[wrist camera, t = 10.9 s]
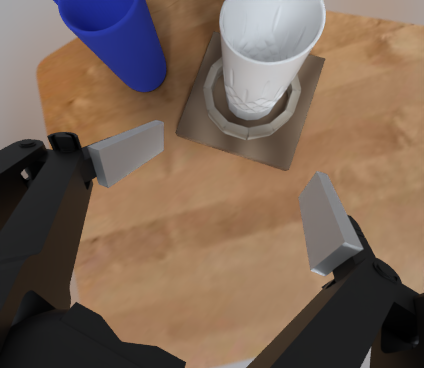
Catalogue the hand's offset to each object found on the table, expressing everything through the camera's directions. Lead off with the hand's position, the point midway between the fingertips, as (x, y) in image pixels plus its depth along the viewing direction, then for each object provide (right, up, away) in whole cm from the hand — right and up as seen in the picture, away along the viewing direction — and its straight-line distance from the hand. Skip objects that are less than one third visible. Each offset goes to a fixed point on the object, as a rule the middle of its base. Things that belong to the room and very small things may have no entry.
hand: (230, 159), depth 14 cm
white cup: (+4, +10, +9) cm, 13 cm away
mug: (-13, +16, +12) cm, 24 cm away
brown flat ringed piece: (+4, +10, +10) cm, 14 cm away
